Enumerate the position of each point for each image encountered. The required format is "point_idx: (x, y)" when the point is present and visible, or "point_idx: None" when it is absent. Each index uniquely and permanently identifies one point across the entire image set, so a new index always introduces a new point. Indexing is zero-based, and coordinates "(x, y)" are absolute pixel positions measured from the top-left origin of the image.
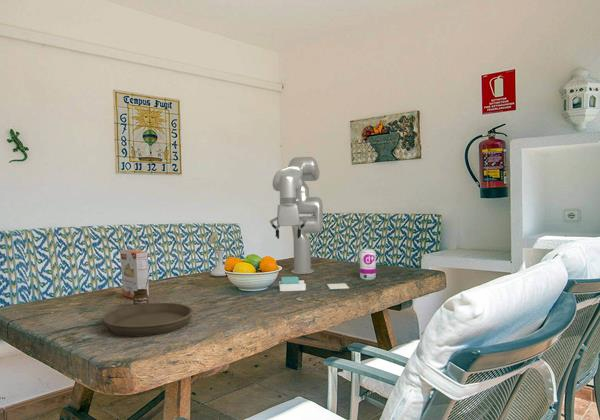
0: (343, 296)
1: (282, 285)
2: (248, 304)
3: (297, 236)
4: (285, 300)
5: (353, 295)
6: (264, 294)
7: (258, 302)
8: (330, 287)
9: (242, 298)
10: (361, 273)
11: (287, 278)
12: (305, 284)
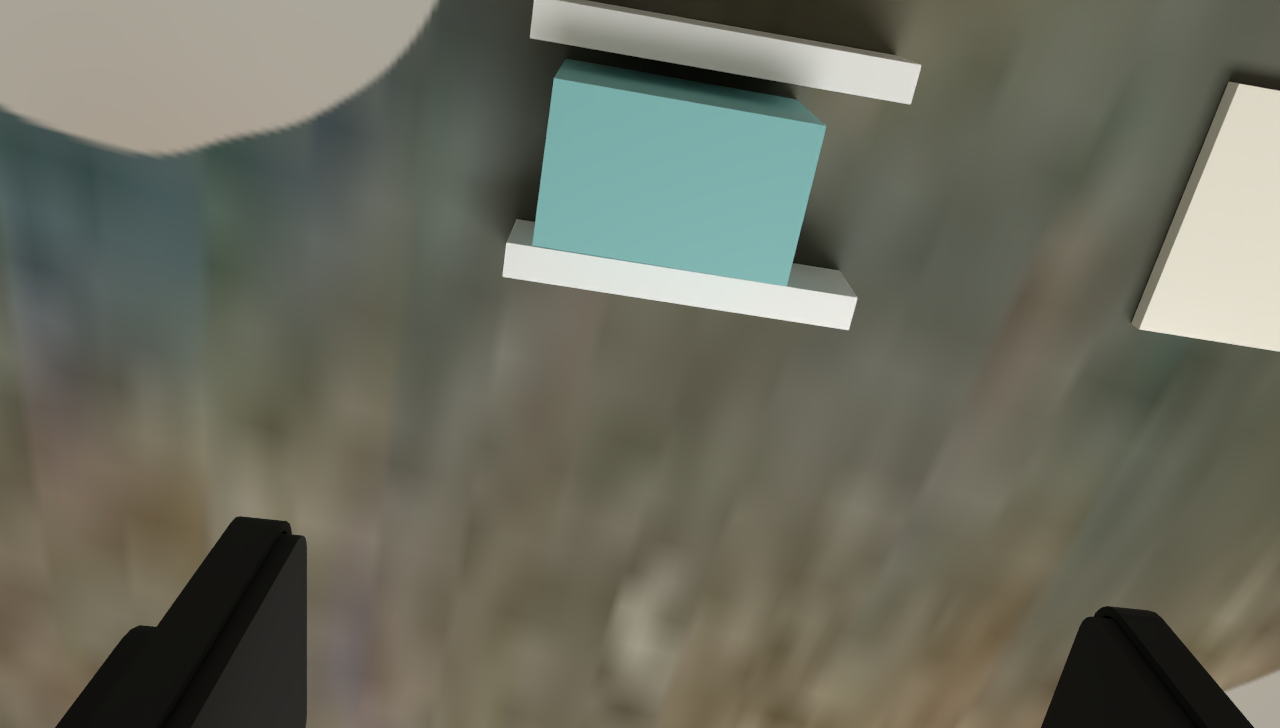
0: None
1: (539, 277)
2: None
3: (1102, 646)
4: (498, 652)
5: None
6: (307, 355)
7: None
8: (1155, 316)
9: (59, 463)
10: None
11: (625, 234)
12: (845, 327)
